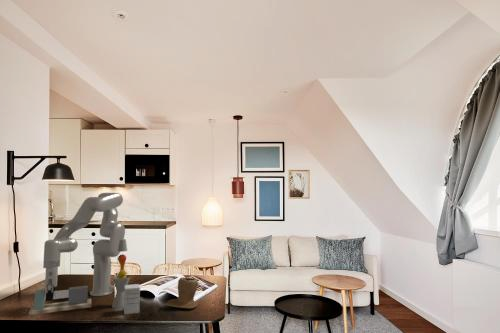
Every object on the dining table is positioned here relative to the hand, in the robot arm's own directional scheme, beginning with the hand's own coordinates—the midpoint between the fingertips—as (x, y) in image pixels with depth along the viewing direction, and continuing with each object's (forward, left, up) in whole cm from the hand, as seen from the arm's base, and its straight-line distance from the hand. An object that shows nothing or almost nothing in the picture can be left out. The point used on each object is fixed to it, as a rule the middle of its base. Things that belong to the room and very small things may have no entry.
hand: (50, 297), depth 175 cm
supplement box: (-38, +21, -6) cm, 43 cm away
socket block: (+5, 0, -4) cm, 6 cm away
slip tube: (-4, 0, 0) cm, 4 cm away
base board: (-6, 0, -6) cm, 8 cm away
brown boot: (-64, +25, -6) cm, 69 cm away
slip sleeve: (-13, 0, -4) cm, 14 cm away
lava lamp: (-34, +9, -6) cm, 35 cm away
